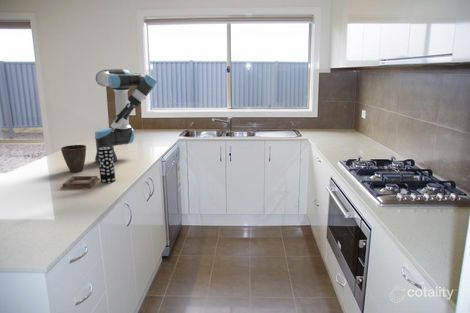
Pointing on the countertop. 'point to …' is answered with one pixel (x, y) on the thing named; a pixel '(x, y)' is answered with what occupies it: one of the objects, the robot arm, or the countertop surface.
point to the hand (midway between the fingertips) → (114, 127)
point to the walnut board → (80, 182)
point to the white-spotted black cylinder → (106, 164)
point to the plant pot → (74, 157)
